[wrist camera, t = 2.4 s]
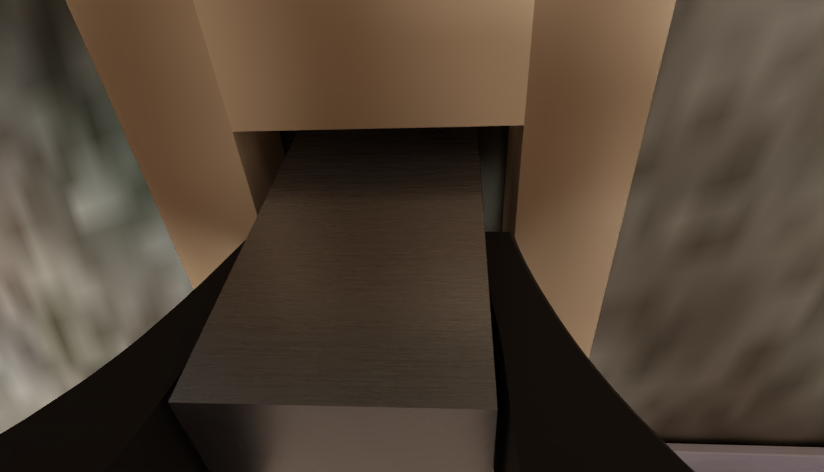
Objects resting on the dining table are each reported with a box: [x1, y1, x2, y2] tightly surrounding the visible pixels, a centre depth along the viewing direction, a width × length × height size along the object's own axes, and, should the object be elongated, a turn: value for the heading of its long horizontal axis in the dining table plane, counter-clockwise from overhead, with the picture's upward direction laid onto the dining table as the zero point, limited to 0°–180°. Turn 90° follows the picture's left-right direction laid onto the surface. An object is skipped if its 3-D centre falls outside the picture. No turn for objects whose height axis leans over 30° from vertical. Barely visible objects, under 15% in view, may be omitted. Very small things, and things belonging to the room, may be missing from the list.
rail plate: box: [66, 0, 676, 359], centre depth 13 cm, size 10×14×2 cm
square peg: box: [168, 126, 498, 472], centre depth 11 cm, size 4×4×8 cm
